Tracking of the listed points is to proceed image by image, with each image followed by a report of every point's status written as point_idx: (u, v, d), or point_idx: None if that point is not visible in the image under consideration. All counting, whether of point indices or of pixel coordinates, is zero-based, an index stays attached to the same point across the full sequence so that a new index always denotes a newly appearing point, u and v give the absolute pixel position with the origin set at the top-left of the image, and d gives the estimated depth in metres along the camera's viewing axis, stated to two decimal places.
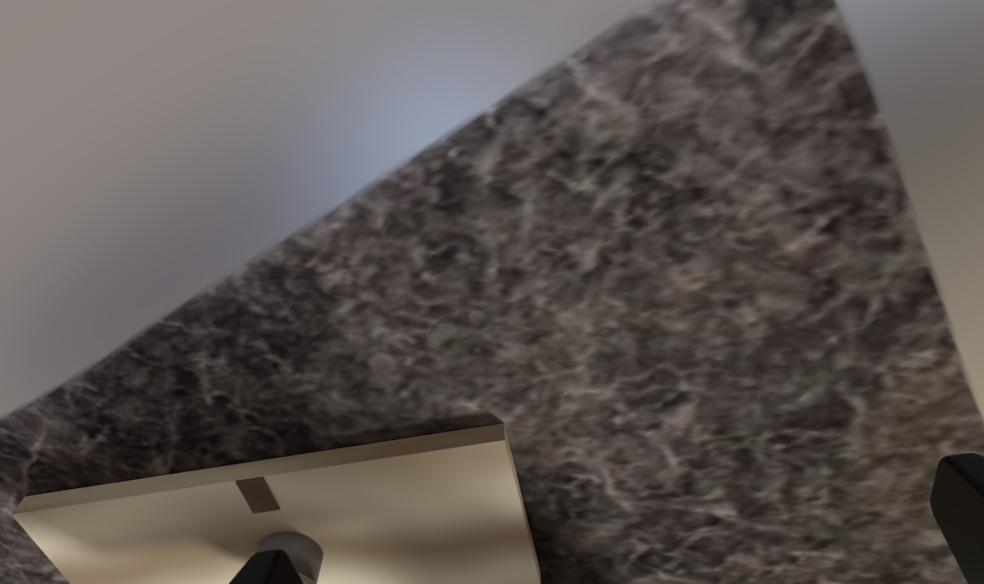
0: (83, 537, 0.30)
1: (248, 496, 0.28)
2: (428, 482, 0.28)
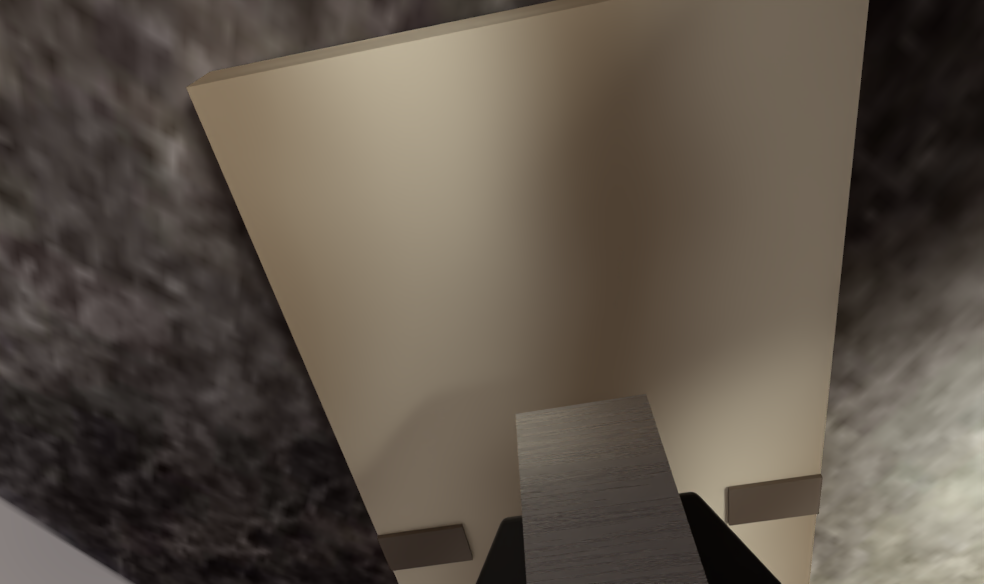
0: None
1: (432, 558, 0.16)
2: (368, 274, 0.12)
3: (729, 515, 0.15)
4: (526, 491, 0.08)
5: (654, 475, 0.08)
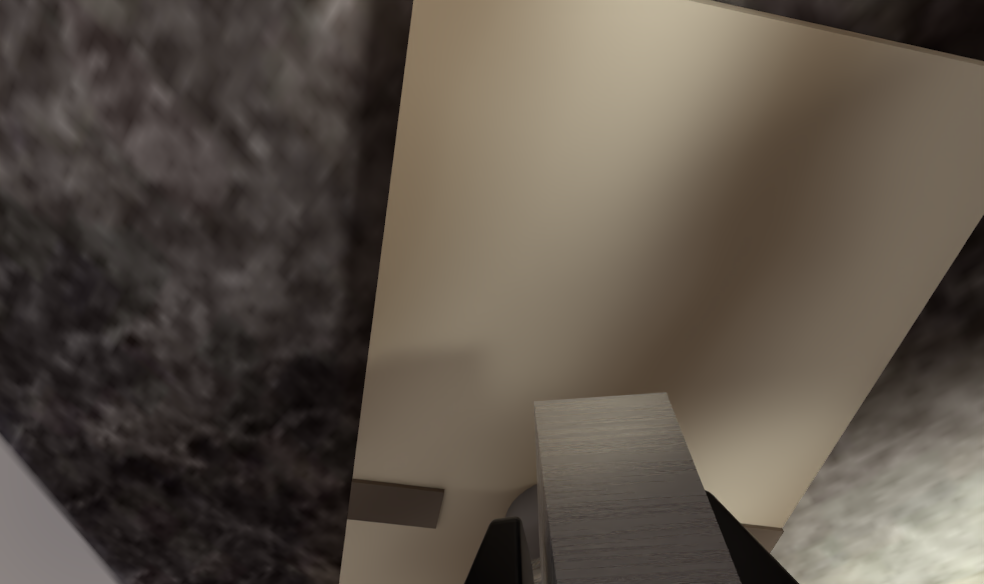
0: None
1: (394, 516, 0.15)
2: (495, 208, 0.11)
3: None
4: (549, 479, 0.08)
5: (679, 472, 0.08)
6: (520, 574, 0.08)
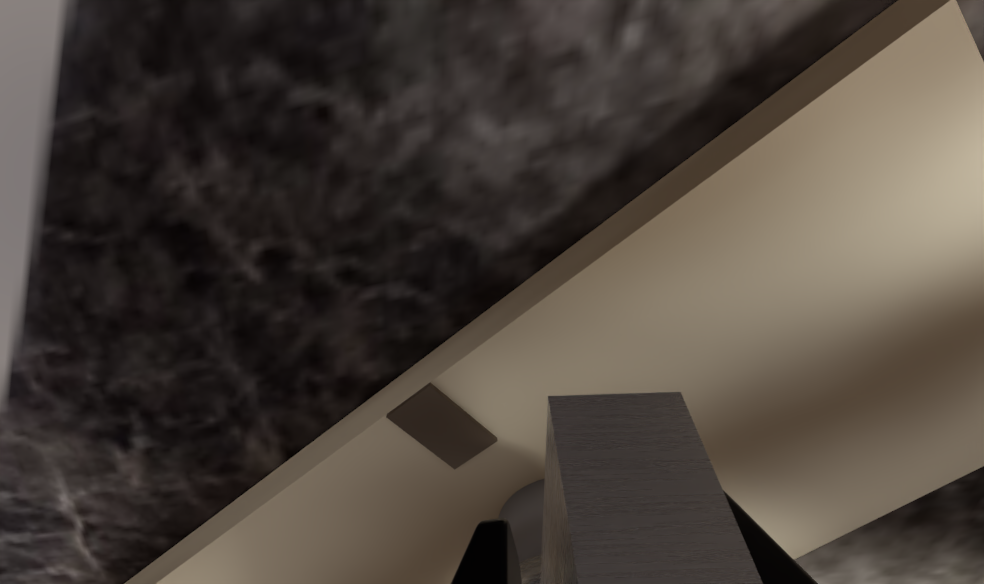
0: None
1: (426, 438, 0.14)
2: (784, 233, 0.11)
3: None
4: (566, 473, 0.08)
5: (697, 471, 0.08)
6: (506, 576, 0.08)
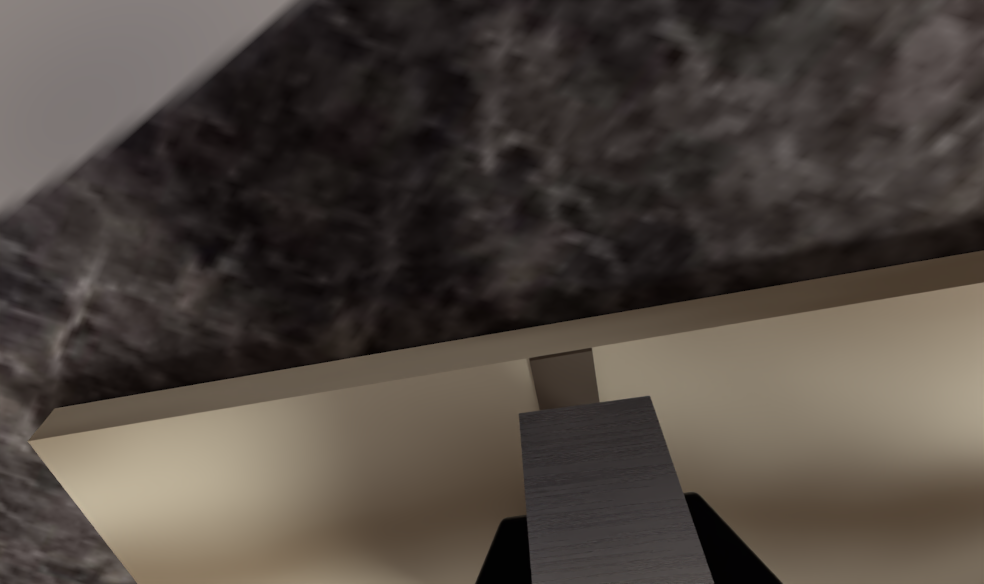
0: (176, 492, 0.14)
1: (543, 397, 0.13)
2: (946, 361, 0.13)
3: None
4: (530, 491, 0.08)
5: (659, 476, 0.08)
6: None
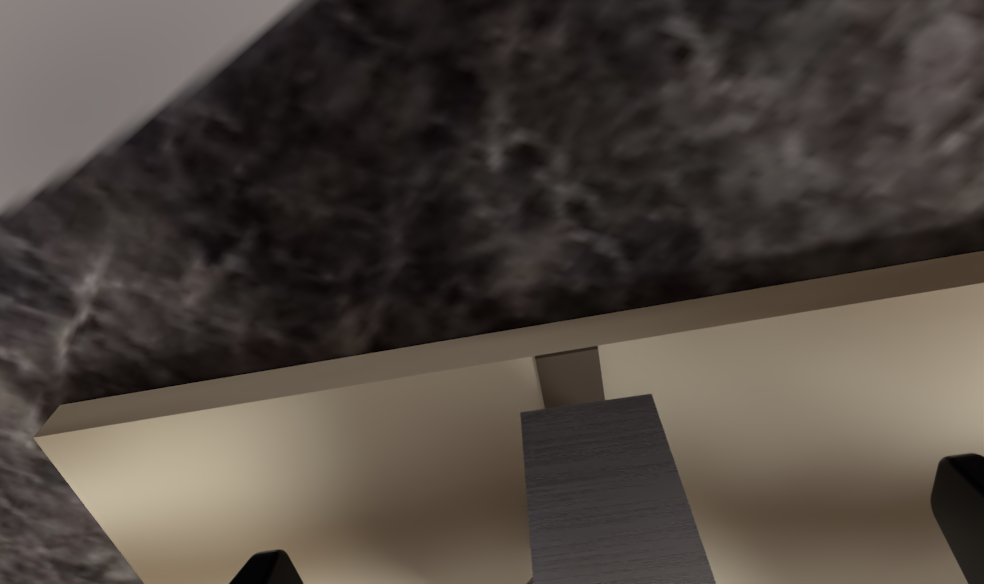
0: (181, 489, 0.14)
1: (548, 395, 0.13)
2: (952, 361, 0.13)
3: None
4: (532, 490, 0.08)
5: (660, 475, 0.08)
6: None
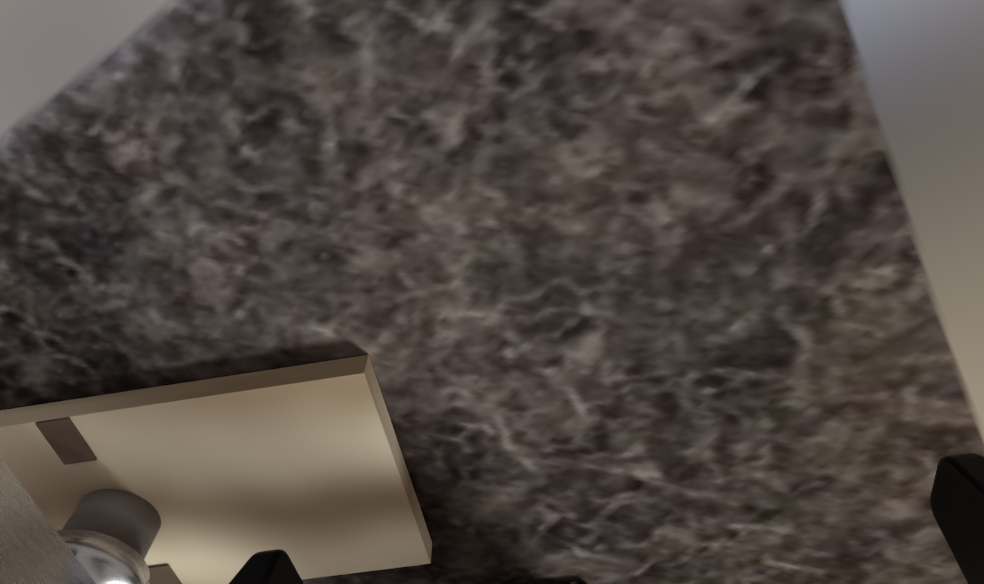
0: None
1: (55, 443, 0.23)
2: (275, 427, 0.23)
3: None
4: None
5: None
6: None
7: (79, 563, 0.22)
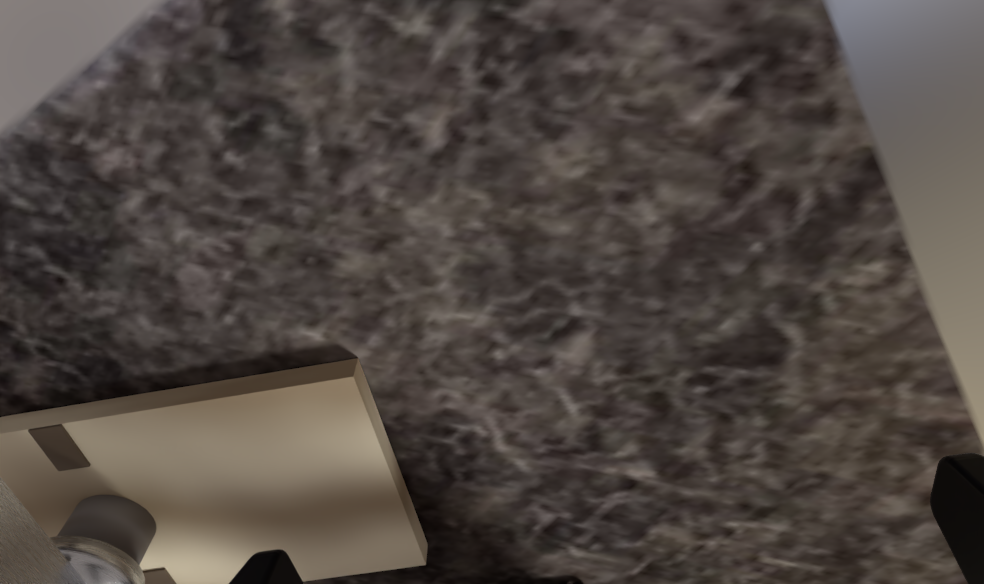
0: None
1: (48, 449, 0.23)
2: (267, 431, 0.23)
3: (144, 572, 0.27)
4: None
5: None
6: None
7: (73, 570, 0.22)
